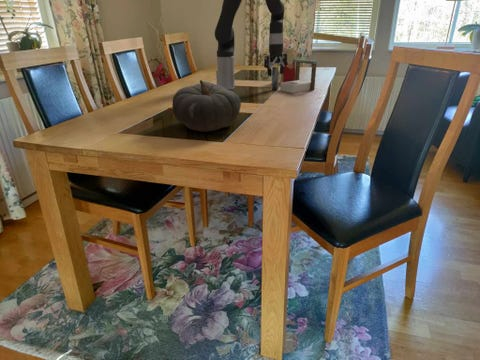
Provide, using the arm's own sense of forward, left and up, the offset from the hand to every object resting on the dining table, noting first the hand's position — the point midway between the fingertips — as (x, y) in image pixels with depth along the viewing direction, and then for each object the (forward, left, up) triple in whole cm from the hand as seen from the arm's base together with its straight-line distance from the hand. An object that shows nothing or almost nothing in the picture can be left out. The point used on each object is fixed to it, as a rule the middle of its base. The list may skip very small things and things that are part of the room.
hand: (275, 75), depth 182 cm
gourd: (-63, -35, -8) cm, 73 cm away
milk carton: (+20, +11, -8) cm, 24 cm away
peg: (0, 0, -8) cm, 8 cm away
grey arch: (+13, -8, -8) cm, 17 cm away
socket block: (+8, -8, -8) cm, 14 cm away
